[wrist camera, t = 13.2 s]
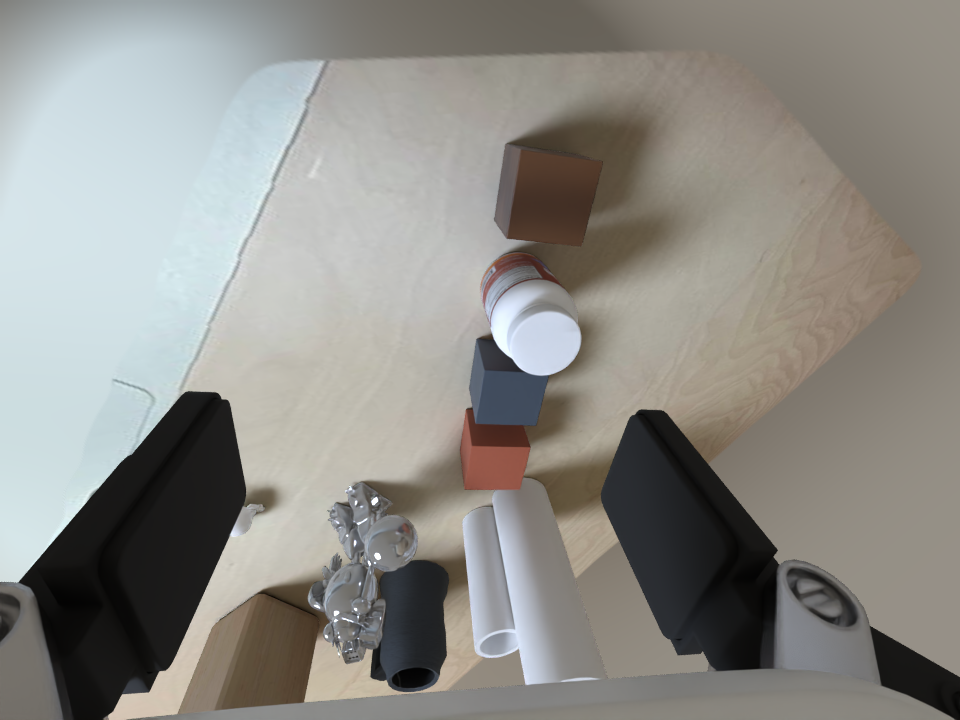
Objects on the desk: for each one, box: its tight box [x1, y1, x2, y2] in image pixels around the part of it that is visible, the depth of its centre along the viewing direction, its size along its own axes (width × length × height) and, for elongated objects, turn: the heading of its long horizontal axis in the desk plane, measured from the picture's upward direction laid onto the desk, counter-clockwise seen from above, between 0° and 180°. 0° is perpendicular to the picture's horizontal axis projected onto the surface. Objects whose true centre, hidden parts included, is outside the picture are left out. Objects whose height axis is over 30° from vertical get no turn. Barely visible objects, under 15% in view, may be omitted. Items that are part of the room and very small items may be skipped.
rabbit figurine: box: [230, 504, 265, 536], centre depth 44 cm, size 6×4×8 cm
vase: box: [462, 477, 608, 685], centre depth 42 cm, size 11×7×20 cm, turn 140°
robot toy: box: [308, 482, 418, 664], centre depth 41 cm, size 15×6×15 cm, turn 140°
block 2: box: [469, 339, 549, 426], centre depth 38 cm, size 6×6×6 cm
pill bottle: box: [480, 252, 582, 376], centre depth 32 cm, size 6×6×11 cm
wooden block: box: [178, 594, 319, 714], centre depth 48 cm, size 10×10×20 cm
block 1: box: [494, 144, 603, 246], centre depth 30 cm, size 6×6×6 cm
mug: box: [370, 560, 449, 692], centre depth 51 cm, size 12×9×11 cm
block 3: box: [460, 409, 531, 490], centre depth 42 cm, size 6×6×6 cm
